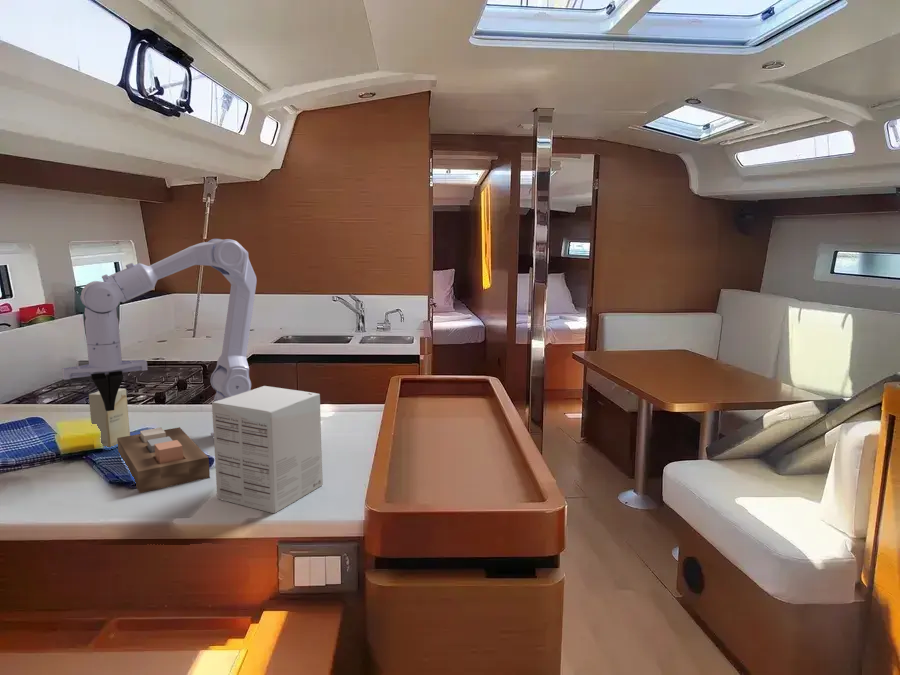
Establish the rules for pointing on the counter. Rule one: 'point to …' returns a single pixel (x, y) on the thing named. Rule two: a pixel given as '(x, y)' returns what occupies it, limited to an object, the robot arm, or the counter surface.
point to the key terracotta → (168, 452)
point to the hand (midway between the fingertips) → (109, 409)
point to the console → (167, 473)
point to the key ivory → (152, 434)
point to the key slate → (155, 441)
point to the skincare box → (110, 417)
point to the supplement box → (267, 447)
